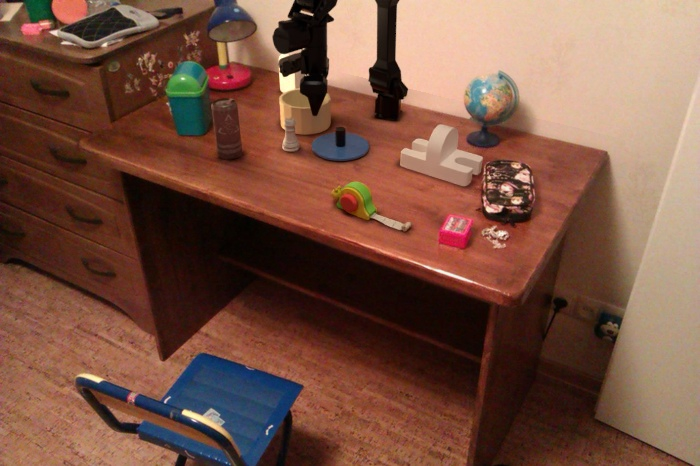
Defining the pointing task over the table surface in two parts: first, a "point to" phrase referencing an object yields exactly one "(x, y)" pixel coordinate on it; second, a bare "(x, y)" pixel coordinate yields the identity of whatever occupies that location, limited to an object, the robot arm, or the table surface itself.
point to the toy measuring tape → (363, 204)
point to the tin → (304, 112)
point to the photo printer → (289, 79)
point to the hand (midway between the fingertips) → (315, 107)
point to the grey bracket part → (442, 157)
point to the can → (227, 128)
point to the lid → (340, 145)
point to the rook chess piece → (290, 136)
